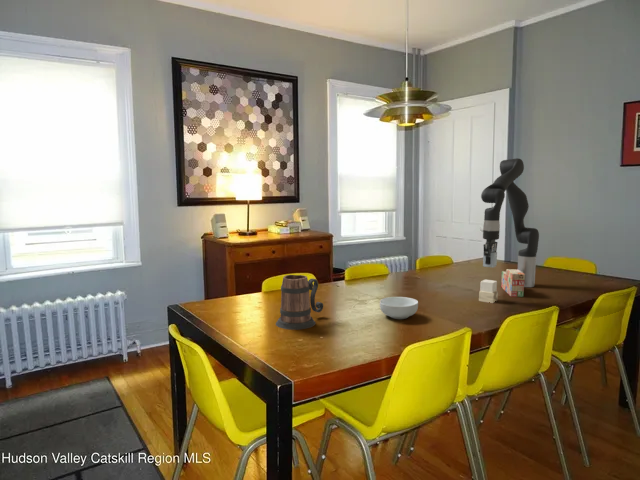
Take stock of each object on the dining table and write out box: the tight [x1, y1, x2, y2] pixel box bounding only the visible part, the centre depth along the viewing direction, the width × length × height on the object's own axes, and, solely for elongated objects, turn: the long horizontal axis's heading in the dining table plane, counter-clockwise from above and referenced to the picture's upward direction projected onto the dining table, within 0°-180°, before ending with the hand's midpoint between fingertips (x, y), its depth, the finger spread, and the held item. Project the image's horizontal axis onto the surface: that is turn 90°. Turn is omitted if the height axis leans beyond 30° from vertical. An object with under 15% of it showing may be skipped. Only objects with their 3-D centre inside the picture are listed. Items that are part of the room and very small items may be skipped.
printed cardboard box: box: [500, 268, 525, 298], centre depth 244 cm, size 21×6×12 cm, turn 172°
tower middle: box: [479, 279, 498, 293], centre depth 226 cm, size 6×6×5 cm
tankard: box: [275, 274, 324, 331], centre depth 192 cm, size 24×17×20 cm
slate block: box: [482, 251, 498, 269], centre depth 225 cm, size 5×5×7 cm
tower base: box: [478, 290, 499, 304], centre depth 227 cm, size 7×7×5 cm
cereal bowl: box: [379, 296, 419, 320], centre depth 200 cm, size 17×17×7 cm
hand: (489, 263), depth 225 cm, fingers closed on slate block, 5 cm apart
